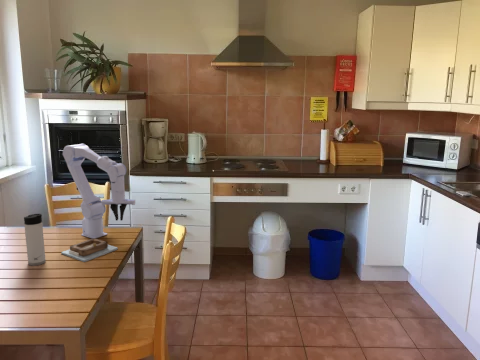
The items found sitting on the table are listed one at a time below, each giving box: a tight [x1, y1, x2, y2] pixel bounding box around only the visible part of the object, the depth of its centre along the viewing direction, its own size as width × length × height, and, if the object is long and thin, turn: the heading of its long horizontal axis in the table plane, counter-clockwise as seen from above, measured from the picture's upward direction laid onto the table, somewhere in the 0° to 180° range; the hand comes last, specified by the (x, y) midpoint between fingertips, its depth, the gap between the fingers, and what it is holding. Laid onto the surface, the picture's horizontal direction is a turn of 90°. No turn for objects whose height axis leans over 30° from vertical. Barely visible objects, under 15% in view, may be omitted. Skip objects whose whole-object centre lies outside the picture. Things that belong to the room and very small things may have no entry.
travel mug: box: [23, 213, 47, 267], centre depth 163 cm, size 6×7×20 cm
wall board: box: [61, 244, 119, 263], centre depth 177 cm, size 15×17×2 cm
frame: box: [69, 238, 109, 256], centre depth 176 cm, size 9×12×3 cm
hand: (119, 219), depth 189 cm, fingers closed
